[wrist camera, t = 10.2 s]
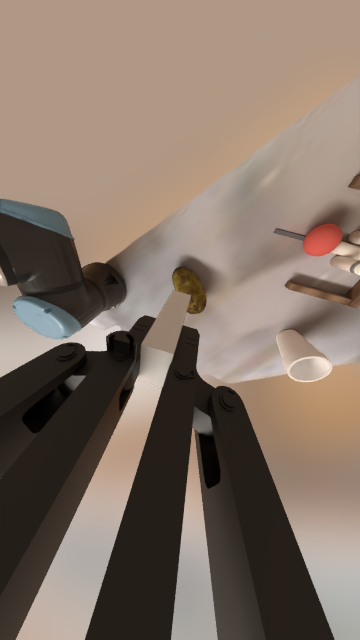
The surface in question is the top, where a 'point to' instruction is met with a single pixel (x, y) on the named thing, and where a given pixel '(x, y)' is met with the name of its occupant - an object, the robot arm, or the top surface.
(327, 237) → the ball
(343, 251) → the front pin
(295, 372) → the foam cup
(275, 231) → the thin gray bar
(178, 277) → the potato
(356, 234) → the pin
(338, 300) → the rail
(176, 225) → the top surface
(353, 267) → the pin
